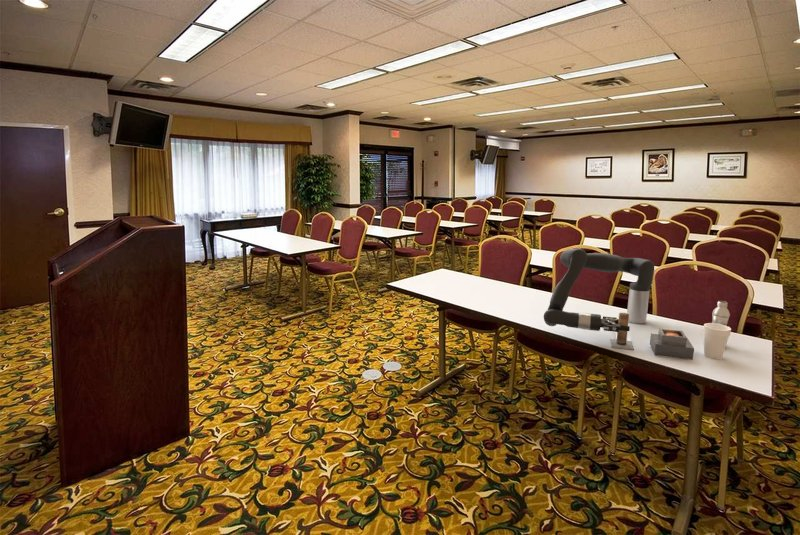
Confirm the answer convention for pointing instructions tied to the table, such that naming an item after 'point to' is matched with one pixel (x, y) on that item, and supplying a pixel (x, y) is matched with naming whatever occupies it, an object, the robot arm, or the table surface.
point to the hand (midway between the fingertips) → (628, 325)
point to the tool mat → (615, 345)
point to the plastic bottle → (720, 313)
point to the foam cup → (715, 339)
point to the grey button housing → (671, 344)
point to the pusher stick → (622, 334)
